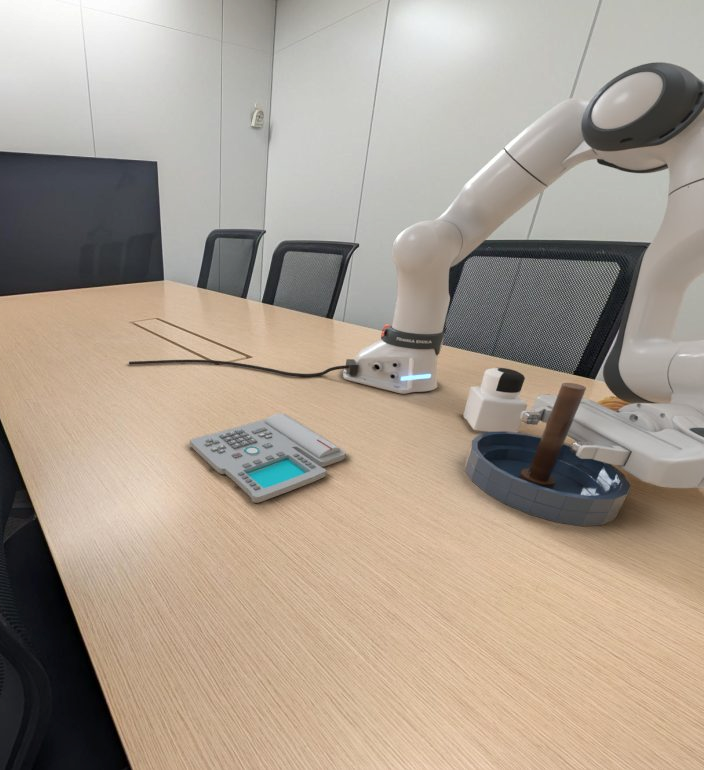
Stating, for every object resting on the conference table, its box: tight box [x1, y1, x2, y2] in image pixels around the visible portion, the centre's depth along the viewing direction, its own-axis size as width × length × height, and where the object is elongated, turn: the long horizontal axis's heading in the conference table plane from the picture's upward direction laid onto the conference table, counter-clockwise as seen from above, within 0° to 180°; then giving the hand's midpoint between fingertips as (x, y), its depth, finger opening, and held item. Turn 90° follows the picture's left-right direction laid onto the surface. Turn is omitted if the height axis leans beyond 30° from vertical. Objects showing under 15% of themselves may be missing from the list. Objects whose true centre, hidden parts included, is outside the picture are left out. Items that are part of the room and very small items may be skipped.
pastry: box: [596, 395, 631, 411], centre depth 77 cm, size 9×7×4 cm
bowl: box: [464, 431, 632, 527], centre depth 57 cm, size 18×18×5 cm
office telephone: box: [189, 413, 346, 504], centre depth 68 cm, size 23×3×20 cm
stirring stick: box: [519, 382, 587, 489], centre depth 55 cm, size 4×4×17 cm
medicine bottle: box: [462, 367, 528, 433], centre depth 73 cm, size 7×7×12 cm
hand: (547, 432), depth 54 cm, fingers open, 8 cm apart
